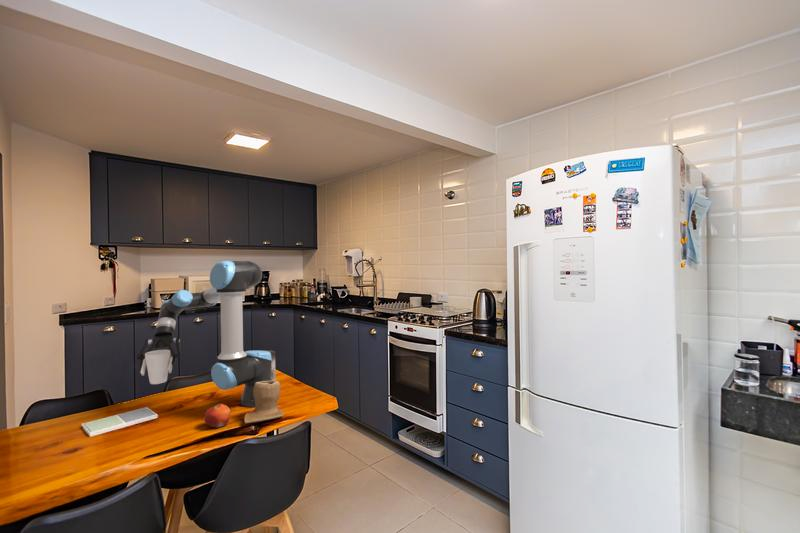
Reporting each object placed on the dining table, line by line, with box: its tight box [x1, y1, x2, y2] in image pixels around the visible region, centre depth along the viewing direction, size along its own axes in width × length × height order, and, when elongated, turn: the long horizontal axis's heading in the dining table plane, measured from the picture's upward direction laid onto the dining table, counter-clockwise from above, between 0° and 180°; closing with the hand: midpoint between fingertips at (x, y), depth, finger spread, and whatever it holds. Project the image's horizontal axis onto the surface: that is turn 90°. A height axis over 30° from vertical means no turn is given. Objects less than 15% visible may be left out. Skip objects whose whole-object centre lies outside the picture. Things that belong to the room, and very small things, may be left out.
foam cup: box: [145, 349, 171, 385], centre depth 163 cm, size 10×9×13 cm
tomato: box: [204, 403, 231, 428], centre depth 146 cm, size 9×9×8 cm
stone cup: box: [243, 380, 284, 424], centre depth 152 cm, size 15×12×15 cm
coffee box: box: [267, 349, 276, 381], centre depth 202 cm, size 9×6×16 cm
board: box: [81, 406, 159, 437], centre depth 151 cm, size 14×22×2 cm, turn 140°
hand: (156, 372), depth 160 cm, fingers closed on foam cup, 9 cm apart
